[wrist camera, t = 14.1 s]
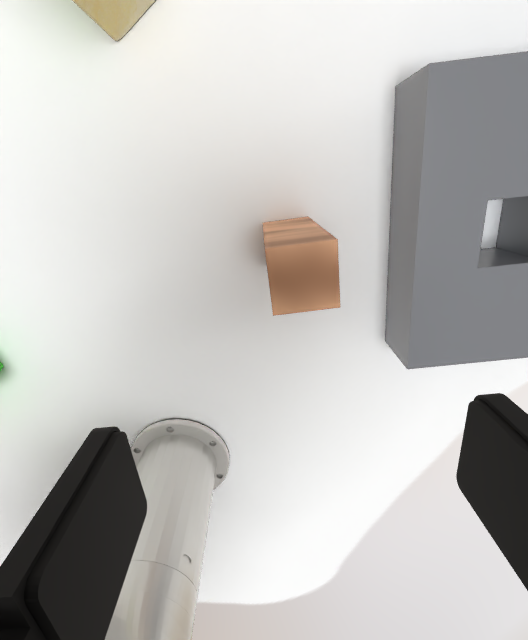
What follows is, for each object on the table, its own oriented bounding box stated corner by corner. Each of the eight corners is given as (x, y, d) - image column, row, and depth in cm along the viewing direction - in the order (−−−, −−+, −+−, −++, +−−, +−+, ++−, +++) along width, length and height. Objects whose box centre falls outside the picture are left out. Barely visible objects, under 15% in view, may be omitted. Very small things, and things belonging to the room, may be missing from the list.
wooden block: (311, 261, 34) (340, 307, 22) (268, 267, 34) (273, 315, 22) (307, 216, 32) (337, 239, 20) (262, 222, 32) (264, 248, 20)
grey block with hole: (530, 326, 37) (578, 352, 31) (385, 341, 37) (407, 369, 32) (590, 62, 27) (674, 33, 22) (395, 86, 28) (429, 63, 22)
